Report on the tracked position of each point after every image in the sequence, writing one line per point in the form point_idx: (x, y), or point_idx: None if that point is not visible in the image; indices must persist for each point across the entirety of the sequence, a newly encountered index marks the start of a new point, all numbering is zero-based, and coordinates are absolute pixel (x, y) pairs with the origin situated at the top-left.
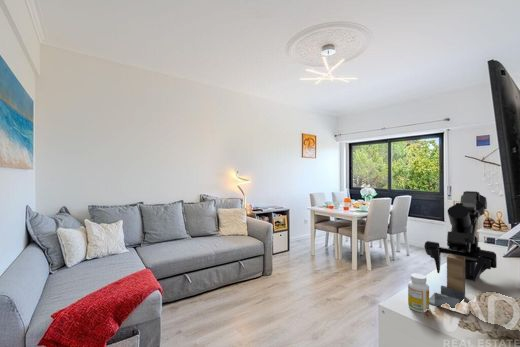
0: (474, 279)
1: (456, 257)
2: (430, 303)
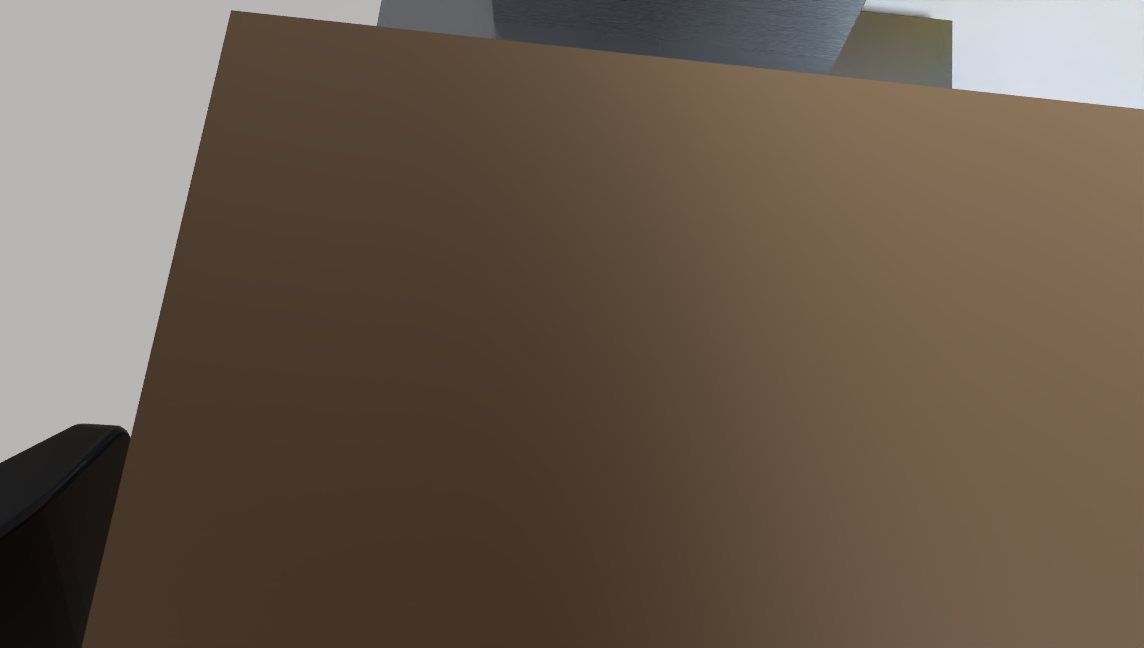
0: (80, 433)
1: (688, 435)
2: (893, 21)
